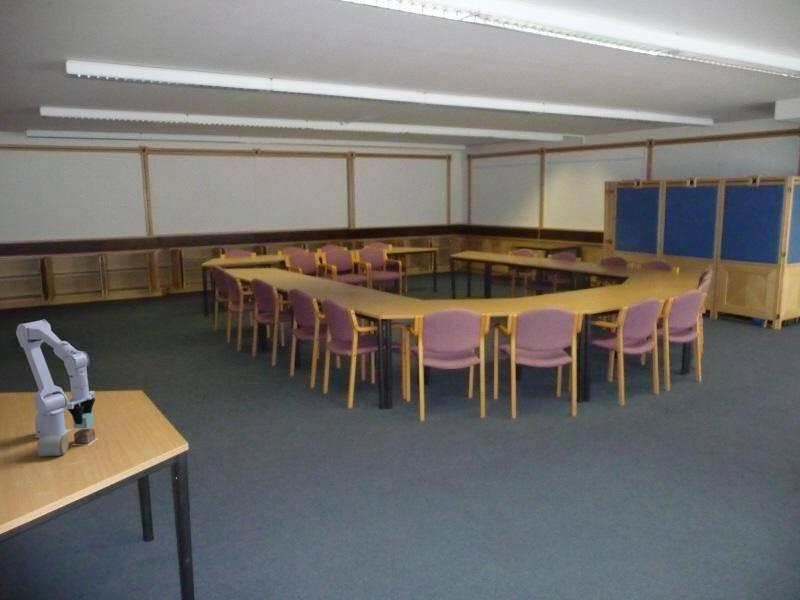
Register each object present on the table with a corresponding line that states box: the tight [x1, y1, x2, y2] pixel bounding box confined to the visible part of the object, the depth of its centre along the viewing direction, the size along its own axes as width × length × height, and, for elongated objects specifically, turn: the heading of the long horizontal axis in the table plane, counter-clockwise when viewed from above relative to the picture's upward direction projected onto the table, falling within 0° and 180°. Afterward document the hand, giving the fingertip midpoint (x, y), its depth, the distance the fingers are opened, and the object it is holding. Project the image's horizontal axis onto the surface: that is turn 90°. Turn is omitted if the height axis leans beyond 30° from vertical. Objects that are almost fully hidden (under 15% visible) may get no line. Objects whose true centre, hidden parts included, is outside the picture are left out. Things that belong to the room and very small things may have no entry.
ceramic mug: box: [36, 434, 70, 458], centre depth 226 cm, size 11×8×8 cm
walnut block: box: [73, 428, 96, 444], centre depth 235 cm, size 5×5×4 cm
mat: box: [71, 437, 99, 446], centre depth 235 cm, size 10×9×1 cm
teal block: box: [72, 412, 95, 429], centre depth 234 cm, size 5×5×4 cm
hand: (83, 421), depth 234 cm, fingers closed on teal block, 5 cm apart
